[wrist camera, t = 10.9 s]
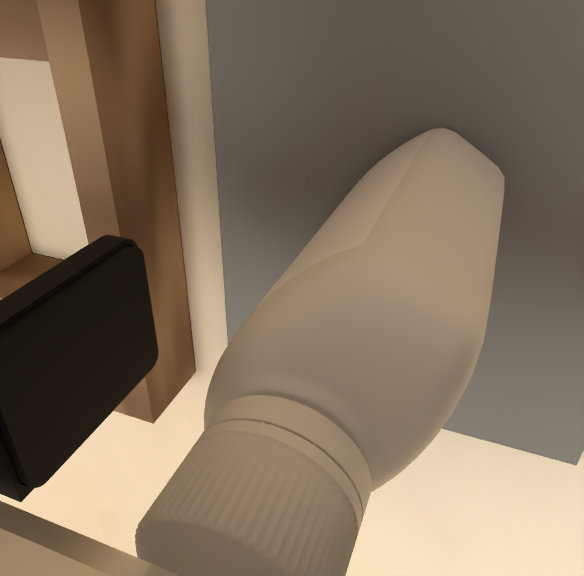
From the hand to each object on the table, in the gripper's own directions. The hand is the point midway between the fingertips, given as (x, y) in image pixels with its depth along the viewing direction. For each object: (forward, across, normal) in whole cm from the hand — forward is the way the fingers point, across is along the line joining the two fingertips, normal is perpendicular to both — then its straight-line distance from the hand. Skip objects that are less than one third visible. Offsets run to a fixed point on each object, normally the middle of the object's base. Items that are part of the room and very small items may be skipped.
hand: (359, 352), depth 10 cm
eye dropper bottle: (+6, 0, 0) cm, 6 cm away
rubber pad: (+6, 0, 0) cm, 6 cm away
